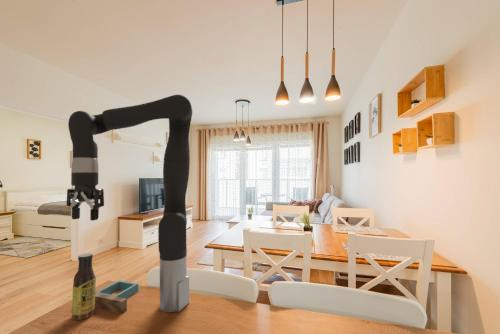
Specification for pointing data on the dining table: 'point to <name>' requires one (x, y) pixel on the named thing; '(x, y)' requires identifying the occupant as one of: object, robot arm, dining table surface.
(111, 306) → the walnut rail
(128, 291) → the square collar
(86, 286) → the sauce bottle
